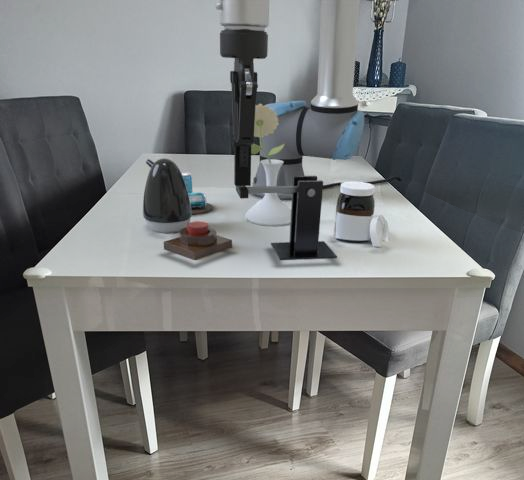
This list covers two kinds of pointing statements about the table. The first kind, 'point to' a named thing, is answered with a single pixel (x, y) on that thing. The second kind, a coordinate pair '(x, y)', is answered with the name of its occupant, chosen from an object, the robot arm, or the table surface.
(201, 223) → the red push button
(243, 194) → the pivoting lever
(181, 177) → the pump dispenser
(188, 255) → the switch box
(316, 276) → the table surface
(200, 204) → the teal cans on tray
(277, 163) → the flower in vase
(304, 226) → the lever bracket
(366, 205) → the spread jar
